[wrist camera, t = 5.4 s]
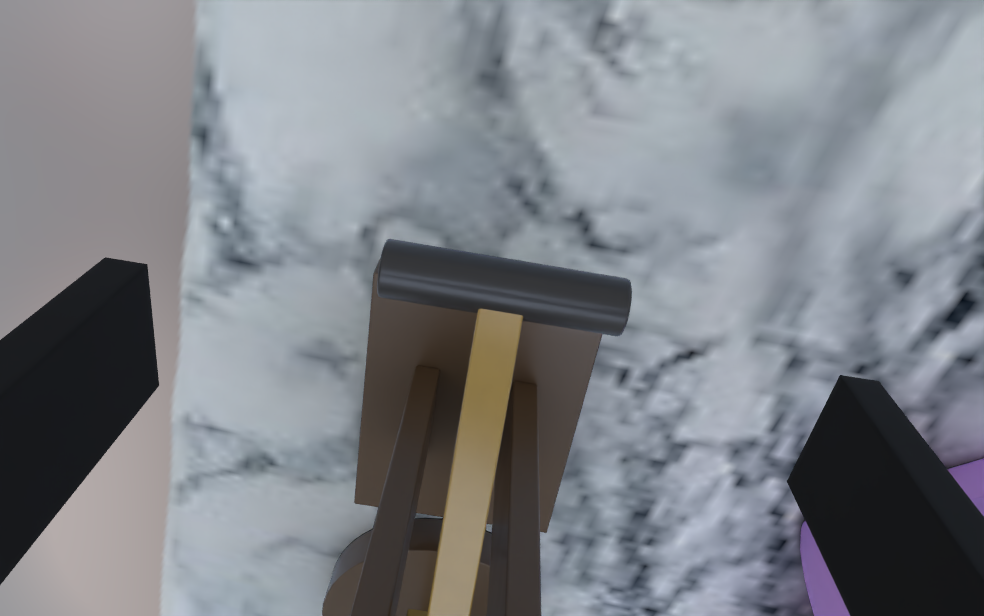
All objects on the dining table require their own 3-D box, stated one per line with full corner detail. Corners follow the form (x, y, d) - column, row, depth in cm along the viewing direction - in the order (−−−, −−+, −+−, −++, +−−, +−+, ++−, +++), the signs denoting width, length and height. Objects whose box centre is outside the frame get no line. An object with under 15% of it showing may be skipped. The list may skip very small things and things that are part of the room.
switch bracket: (380, 258, 27) (240, 564, 14) (605, 295, 27) (674, 629, 14) (360, 484, 33) (248, 848, 20) (546, 512, 33) (556, 890, 20)
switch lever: (393, 235, 18) (379, 242, 15) (620, 273, 18) (641, 285, 16) (328, 685, 20) (307, 751, 17) (533, 714, 20) (539, 784, 18)
